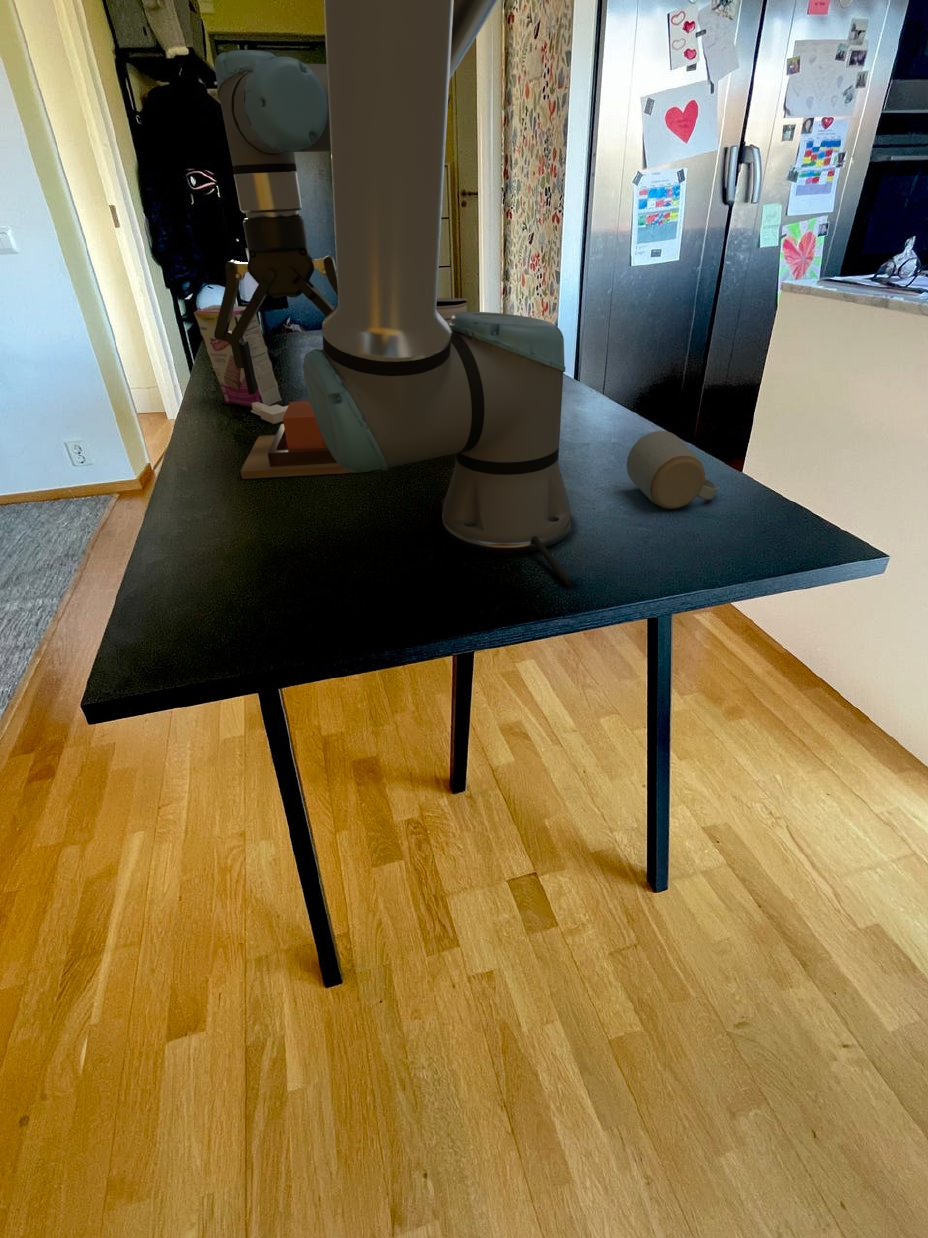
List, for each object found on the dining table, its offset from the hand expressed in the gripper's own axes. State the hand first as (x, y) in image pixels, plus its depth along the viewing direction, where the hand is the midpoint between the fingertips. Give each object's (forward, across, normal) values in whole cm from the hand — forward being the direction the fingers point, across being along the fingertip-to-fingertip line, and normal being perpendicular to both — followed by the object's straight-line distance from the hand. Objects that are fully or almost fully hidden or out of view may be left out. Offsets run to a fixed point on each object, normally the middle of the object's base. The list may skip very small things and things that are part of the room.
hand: (301, 389), depth 94 cm
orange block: (+9, 0, -1) cm, 9 cm away
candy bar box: (+9, +14, -30) cm, 34 cm away
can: (+9, -24, -64) cm, 69 cm away
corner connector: (+10, +9, -24) cm, 27 cm away
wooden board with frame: (+10, 0, 0) cm, 10 cm away
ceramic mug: (+11, -48, +21) cm, 54 cm away
